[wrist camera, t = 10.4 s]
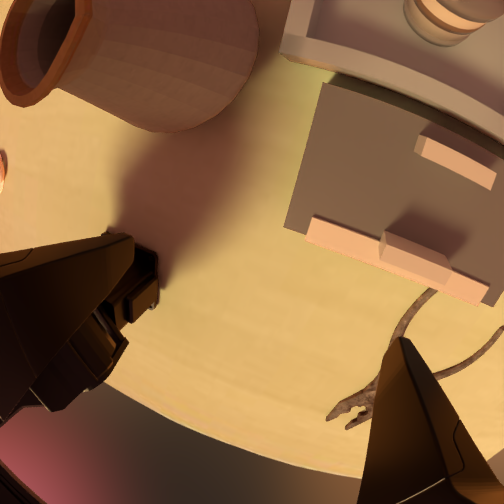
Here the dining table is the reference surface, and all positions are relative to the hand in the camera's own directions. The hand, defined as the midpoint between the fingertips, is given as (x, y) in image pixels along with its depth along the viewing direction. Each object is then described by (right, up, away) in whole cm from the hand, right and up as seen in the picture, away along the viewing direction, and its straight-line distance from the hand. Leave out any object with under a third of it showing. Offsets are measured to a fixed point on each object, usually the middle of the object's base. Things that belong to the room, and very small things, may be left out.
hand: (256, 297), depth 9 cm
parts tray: (+11, +15, +2) cm, 19 cm away
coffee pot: (-3, +19, +6) cm, 20 cm away
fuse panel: (+11, +5, +8) cm, 14 cm away
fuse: (+11, +15, +2) cm, 18 cm away
